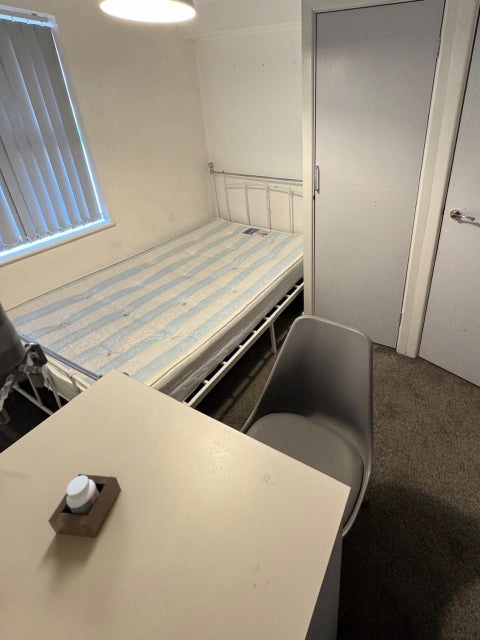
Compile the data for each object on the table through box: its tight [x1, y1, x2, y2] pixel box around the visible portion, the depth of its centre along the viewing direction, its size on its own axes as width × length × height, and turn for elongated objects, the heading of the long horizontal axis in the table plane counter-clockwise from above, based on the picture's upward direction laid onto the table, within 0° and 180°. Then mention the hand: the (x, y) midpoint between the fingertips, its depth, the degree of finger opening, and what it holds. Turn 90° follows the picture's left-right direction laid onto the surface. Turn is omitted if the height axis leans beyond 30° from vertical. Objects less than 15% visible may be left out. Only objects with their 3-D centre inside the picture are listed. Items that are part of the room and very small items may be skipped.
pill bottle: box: [66, 474, 99, 515], centre depth 71 cm, size 5×5×10 cm
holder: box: [48, 473, 122, 539], centre depth 72 cm, size 9×9×5 cm
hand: (22, 402), depth 68 cm, fingers open, 8 cm apart
